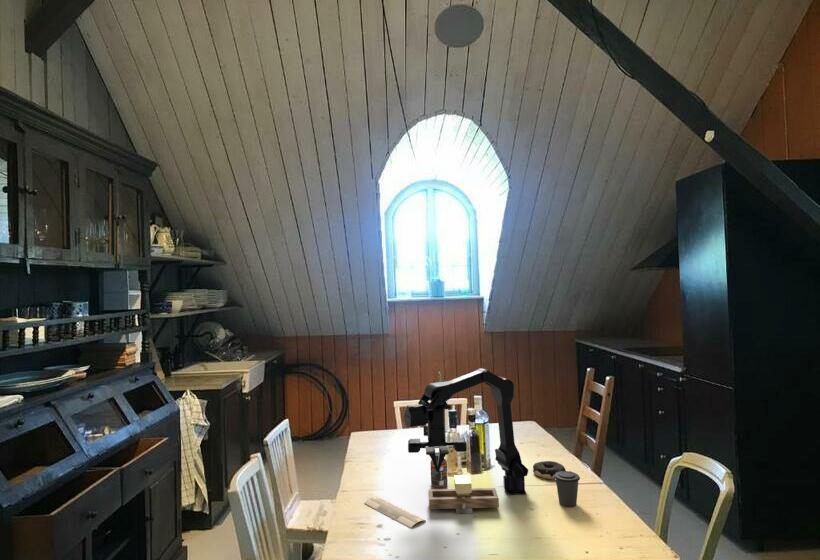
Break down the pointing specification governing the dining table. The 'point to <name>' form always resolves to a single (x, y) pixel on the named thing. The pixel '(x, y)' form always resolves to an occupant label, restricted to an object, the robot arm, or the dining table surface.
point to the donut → (547, 469)
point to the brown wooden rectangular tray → (463, 499)
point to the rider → (463, 485)
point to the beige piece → (393, 511)
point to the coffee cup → (567, 488)
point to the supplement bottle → (439, 474)
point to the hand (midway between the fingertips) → (437, 471)
